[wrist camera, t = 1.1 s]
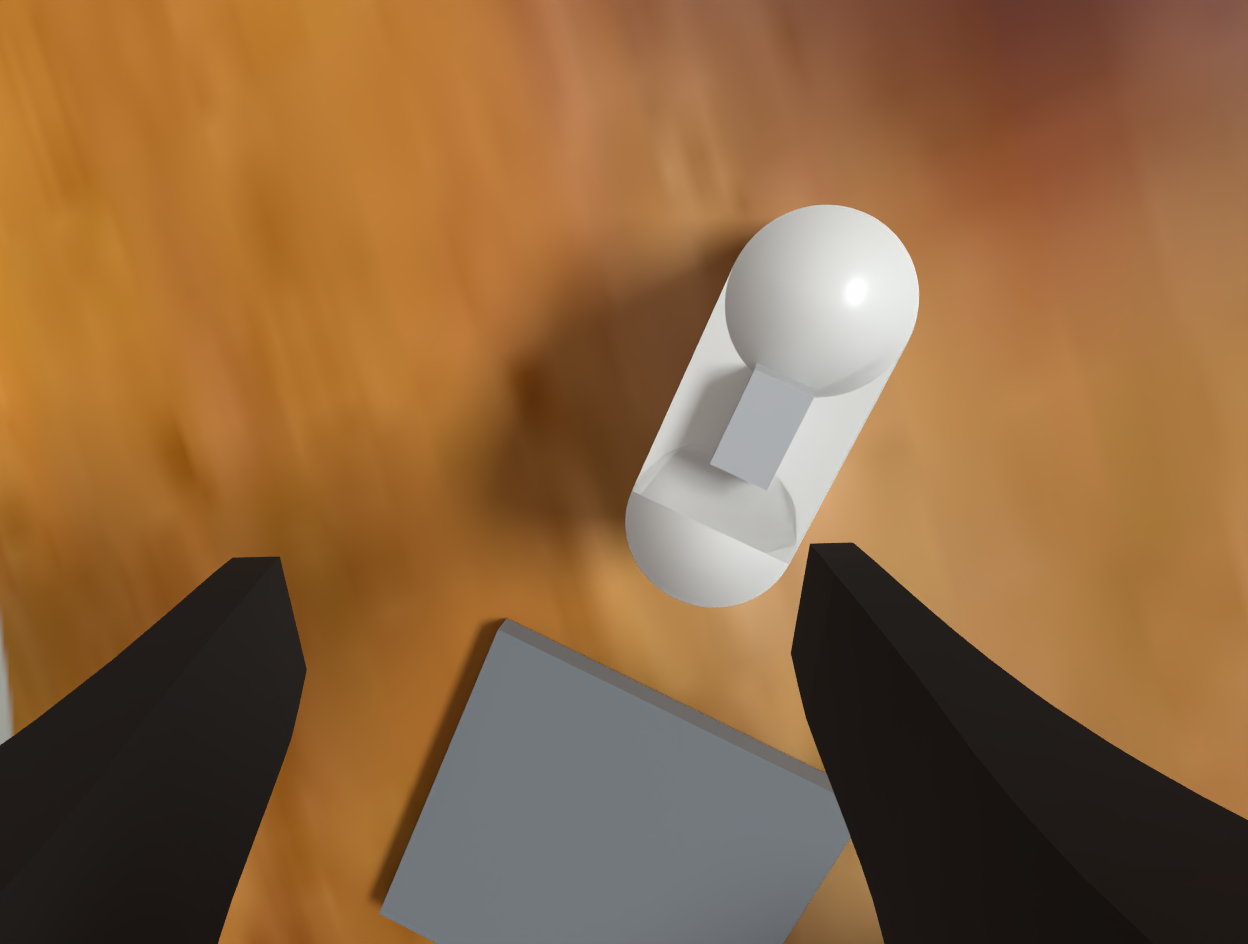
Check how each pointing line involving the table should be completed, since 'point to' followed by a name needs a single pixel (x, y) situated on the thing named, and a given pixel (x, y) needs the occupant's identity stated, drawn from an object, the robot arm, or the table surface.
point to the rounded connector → (771, 403)
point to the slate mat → (608, 817)
